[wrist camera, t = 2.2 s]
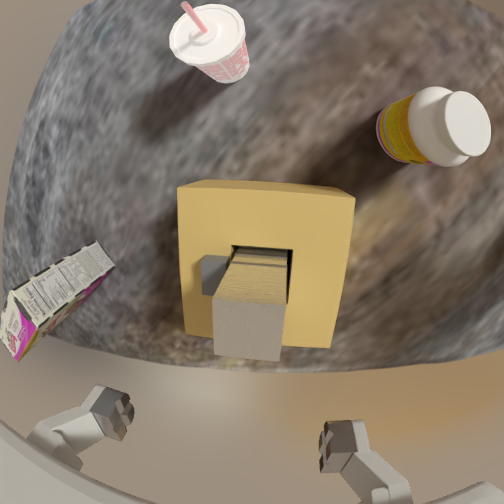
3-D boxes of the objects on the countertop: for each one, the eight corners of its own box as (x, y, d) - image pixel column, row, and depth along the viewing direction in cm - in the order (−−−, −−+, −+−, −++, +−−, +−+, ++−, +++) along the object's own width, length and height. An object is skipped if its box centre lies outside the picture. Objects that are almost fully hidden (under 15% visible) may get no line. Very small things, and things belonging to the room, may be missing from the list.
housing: (337, 187, 28) (360, 201, 19) (321, 308, 32) (331, 359, 23) (203, 179, 29) (167, 189, 20) (204, 297, 34) (178, 344, 25)
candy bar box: (84, 304, 37) (17, 364, 22) (65, 279, 36) (-7, 331, 21) (119, 266, 34) (36, 331, 19) (97, 237, 33) (6, 288, 18)
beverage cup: (247, 34, 23) (218, -38, 10) (264, 79, 25) (245, 19, 12) (194, 52, 24) (135, -3, 11) (208, 97, 26) (149, 57, 13)
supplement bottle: (386, 169, 26) (449, 181, 14) (364, 111, 25) (416, 84, 12) (434, 154, 25) (507, 159, 13) (414, 98, 23) (480, 74, 11)
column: (287, 229, 30) (287, 304, 15) (284, 265, 31) (280, 362, 16) (248, 226, 30) (210, 297, 15) (247, 262, 31) (212, 355, 16)
